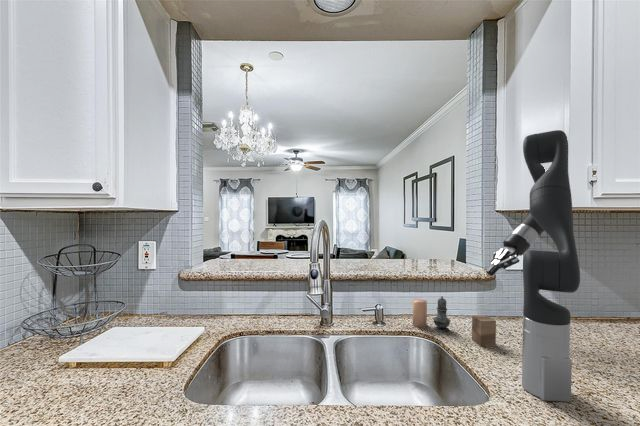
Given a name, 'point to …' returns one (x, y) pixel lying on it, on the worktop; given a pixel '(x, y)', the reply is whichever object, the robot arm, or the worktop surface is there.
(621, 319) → the worktop surface
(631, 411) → the worktop surface
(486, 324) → the walnut block
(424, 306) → the terracotta canister
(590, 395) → the worktop surface
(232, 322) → the worktop surface
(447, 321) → the dark grey turned piece
